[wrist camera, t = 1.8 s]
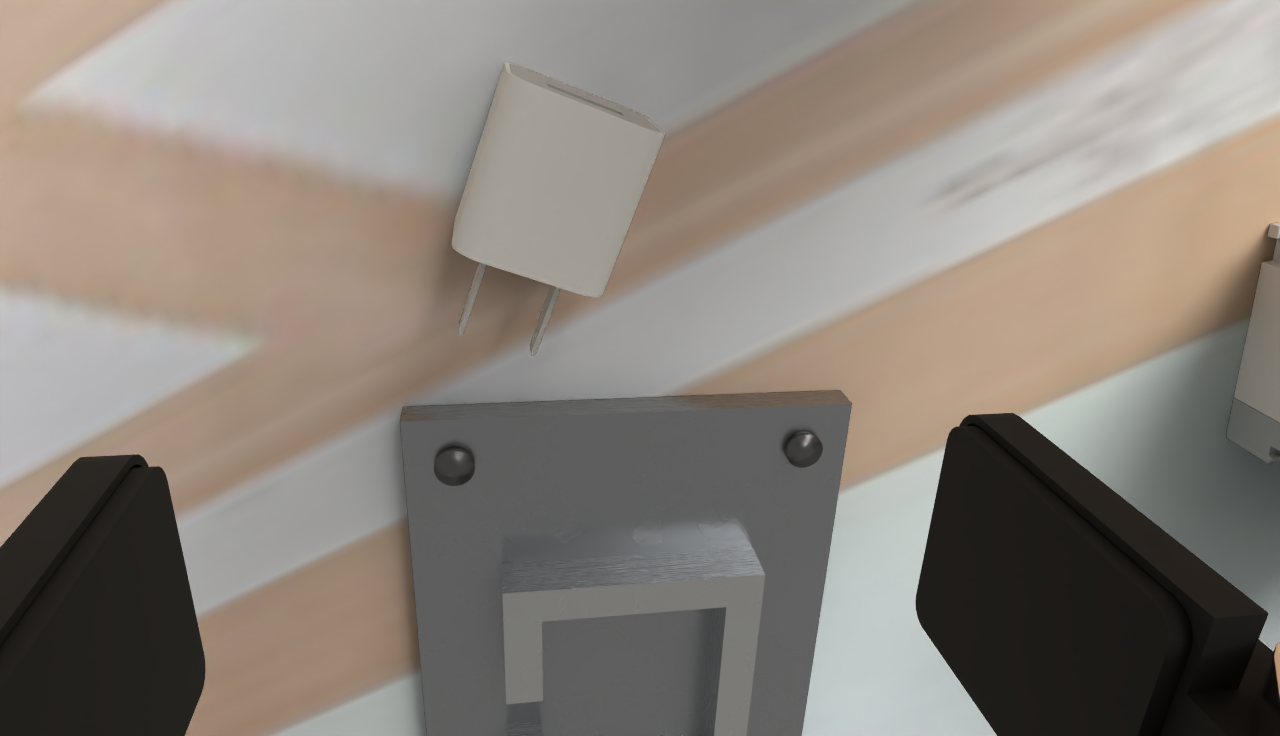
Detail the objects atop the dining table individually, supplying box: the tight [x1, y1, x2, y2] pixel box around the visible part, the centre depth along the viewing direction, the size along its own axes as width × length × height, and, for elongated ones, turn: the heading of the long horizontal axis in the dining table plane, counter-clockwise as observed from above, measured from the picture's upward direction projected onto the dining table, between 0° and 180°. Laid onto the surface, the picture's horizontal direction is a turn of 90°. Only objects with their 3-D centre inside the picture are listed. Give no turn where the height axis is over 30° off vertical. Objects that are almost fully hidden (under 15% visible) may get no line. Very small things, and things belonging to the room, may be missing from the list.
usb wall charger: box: [451, 62, 665, 356], centre depth 23 cm, size 4×7×4 cm, turn 158°
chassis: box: [400, 390, 852, 736], centre depth 30 cm, size 18×14×2 cm
